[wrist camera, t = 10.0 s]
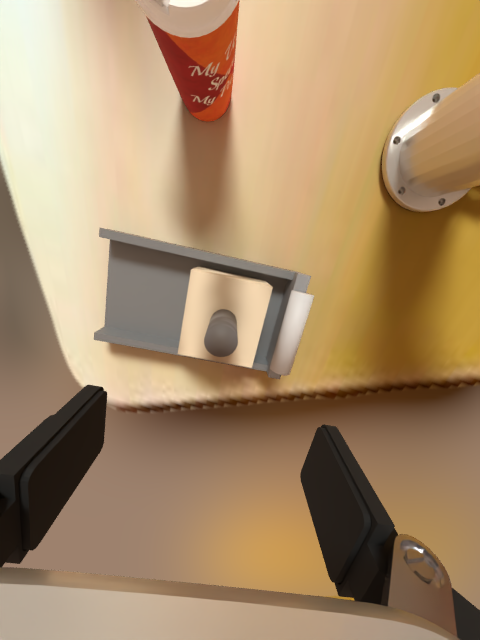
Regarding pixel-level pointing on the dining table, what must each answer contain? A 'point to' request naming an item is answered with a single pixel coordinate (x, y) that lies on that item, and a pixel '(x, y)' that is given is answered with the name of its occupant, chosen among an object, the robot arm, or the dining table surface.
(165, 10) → the paper cup
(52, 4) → the dining table surface
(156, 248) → the bay
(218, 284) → the beige block with peg
